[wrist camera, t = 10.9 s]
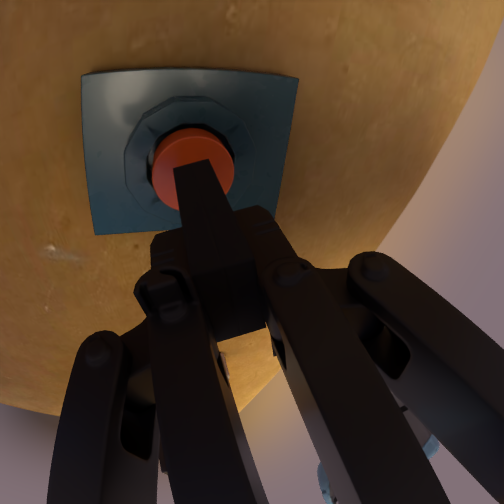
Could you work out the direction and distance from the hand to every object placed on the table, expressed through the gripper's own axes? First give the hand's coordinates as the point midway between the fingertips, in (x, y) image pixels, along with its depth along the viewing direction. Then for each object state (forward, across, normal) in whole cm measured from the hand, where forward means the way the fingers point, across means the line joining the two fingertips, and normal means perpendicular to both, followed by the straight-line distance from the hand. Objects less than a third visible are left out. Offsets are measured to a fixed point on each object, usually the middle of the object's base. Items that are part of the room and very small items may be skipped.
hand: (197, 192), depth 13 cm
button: (+4, 0, 0) cm, 4 cm away
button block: (+7, 0, 0) cm, 7 cm away
